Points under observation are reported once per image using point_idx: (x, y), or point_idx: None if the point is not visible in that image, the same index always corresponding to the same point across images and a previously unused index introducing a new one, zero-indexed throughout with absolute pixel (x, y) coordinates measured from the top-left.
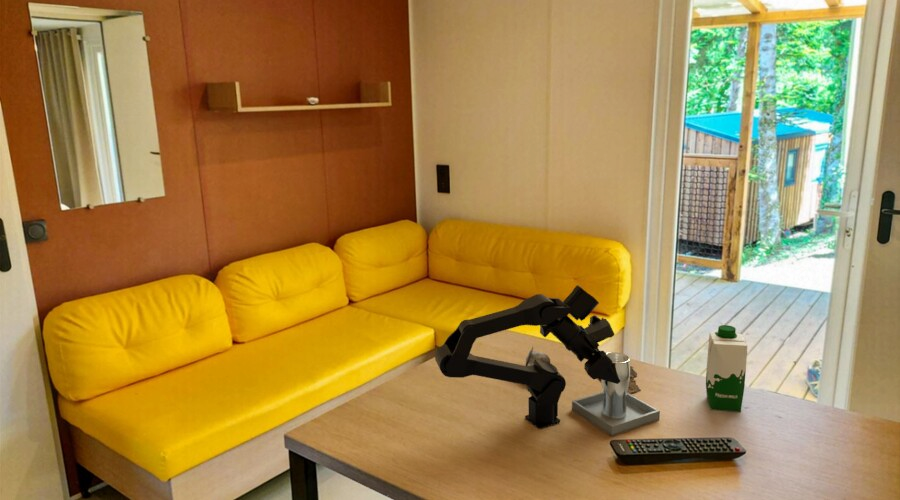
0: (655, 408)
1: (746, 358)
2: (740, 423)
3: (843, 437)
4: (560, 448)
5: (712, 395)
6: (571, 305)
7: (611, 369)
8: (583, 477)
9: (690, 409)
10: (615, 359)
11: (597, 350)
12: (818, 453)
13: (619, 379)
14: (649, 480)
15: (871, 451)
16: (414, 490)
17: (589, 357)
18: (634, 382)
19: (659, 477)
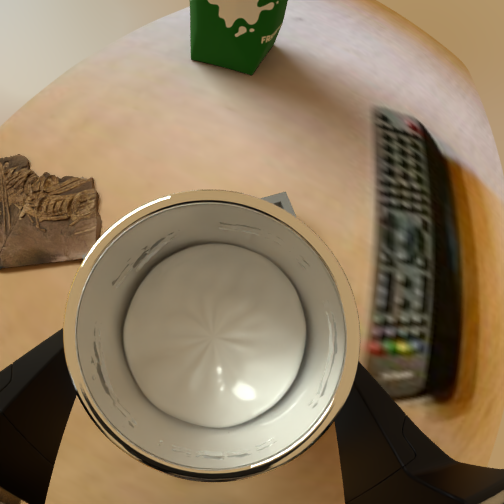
0: (267, 197)
1: None
2: (318, 65)
3: (362, 11)
4: None
5: (253, 46)
6: None
7: (437, 450)
8: None
9: (237, 107)
10: (104, 288)
11: (8, 421)
12: (407, 51)
13: (359, 362)
14: (494, 347)
15: (392, 17)
16: None
17: (44, 462)
18: (51, 178)
19: (491, 324)
